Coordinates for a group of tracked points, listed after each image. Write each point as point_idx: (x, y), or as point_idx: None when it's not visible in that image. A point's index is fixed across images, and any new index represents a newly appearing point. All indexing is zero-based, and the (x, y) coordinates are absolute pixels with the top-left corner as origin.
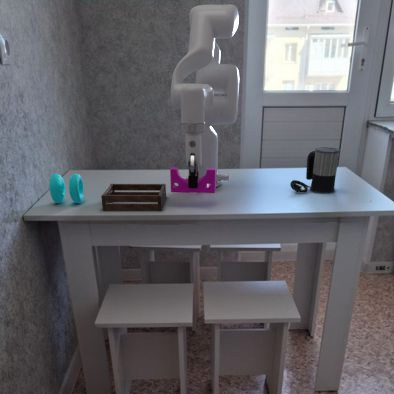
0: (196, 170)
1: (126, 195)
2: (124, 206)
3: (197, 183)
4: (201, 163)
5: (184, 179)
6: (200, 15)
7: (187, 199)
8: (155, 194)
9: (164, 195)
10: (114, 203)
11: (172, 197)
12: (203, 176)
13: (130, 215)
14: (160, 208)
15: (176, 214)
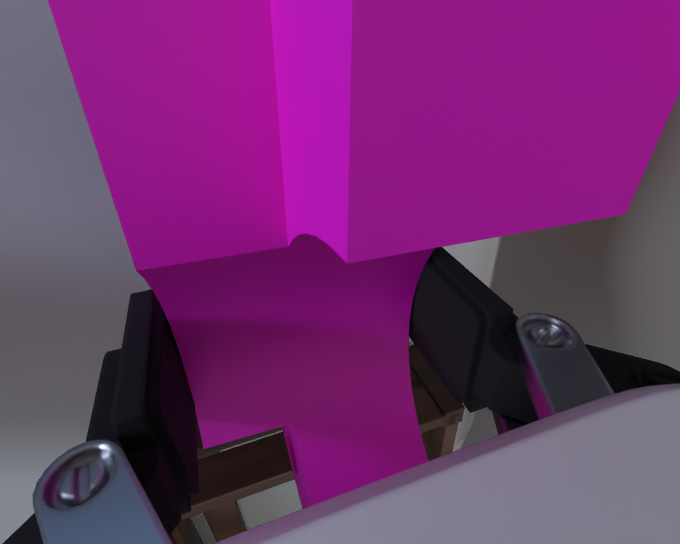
0: (600, 378)
1: None
2: None
3: (450, 255)
4: (587, 464)
5: (321, 425)
6: None
7: (109, 297)
8: None
9: (198, 439)
10: None
11: (89, 405)
12: (241, 256)
13: (467, 415)
14: (423, 357)
15: (484, 258)
